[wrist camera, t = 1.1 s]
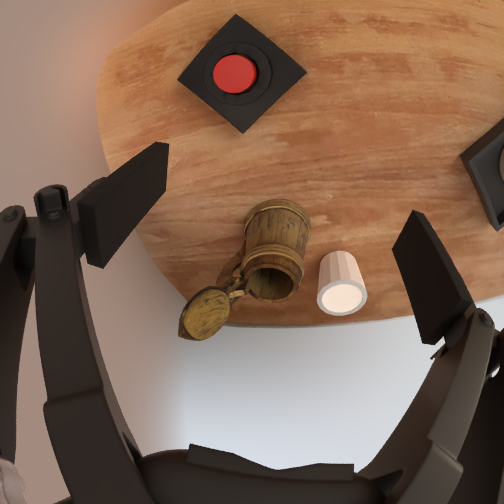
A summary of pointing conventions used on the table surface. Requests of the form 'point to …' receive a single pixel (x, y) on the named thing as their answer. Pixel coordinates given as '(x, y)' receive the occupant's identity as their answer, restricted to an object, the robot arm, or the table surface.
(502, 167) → the travel mug
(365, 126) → the table surface
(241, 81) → the button
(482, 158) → the tray
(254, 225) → the wooden mug
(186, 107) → the table surface
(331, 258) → the white cup
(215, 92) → the control block
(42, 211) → the robot arm
